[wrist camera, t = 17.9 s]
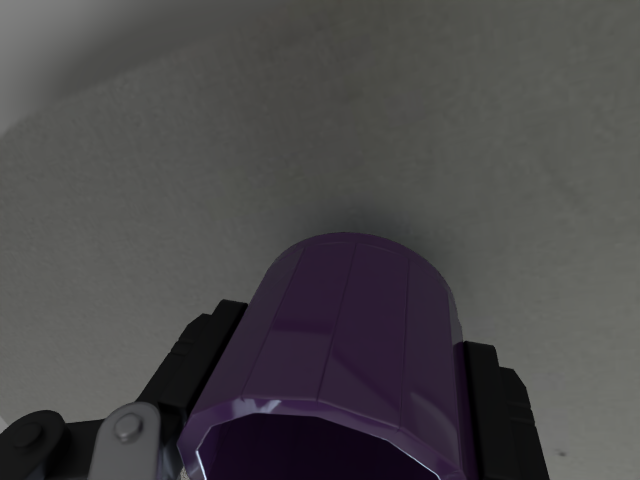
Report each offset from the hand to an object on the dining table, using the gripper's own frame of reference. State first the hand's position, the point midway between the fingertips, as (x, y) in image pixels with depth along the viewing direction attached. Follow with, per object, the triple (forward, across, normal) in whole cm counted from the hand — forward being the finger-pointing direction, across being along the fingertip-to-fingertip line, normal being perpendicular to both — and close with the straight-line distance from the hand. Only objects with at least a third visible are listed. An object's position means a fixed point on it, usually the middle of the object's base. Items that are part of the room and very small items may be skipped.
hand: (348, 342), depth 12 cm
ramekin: (+1, 0, 0) cm, 1 cm away
